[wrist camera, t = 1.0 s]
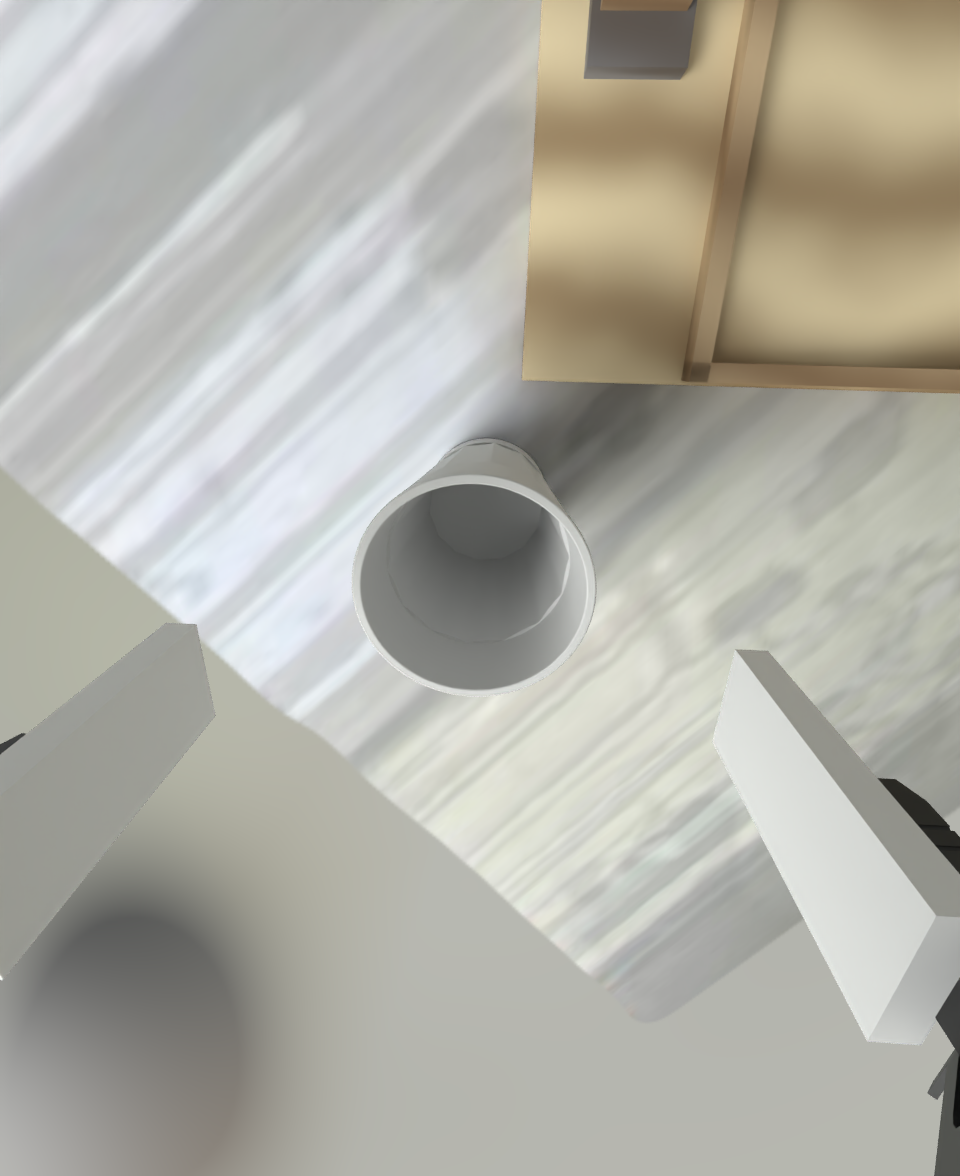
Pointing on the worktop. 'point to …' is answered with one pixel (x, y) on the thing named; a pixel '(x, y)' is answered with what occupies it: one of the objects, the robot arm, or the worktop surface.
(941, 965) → the robot arm
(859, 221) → the board
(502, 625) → the cup
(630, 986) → the worktop surface
